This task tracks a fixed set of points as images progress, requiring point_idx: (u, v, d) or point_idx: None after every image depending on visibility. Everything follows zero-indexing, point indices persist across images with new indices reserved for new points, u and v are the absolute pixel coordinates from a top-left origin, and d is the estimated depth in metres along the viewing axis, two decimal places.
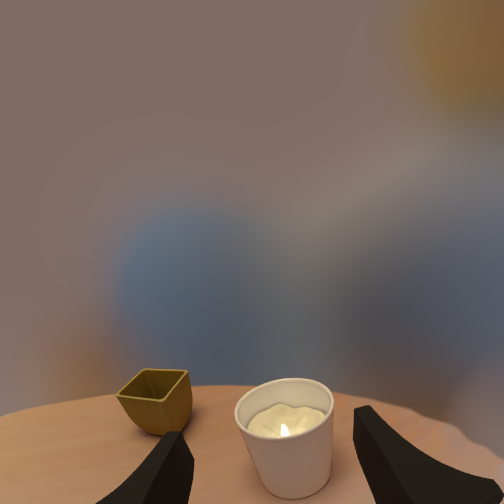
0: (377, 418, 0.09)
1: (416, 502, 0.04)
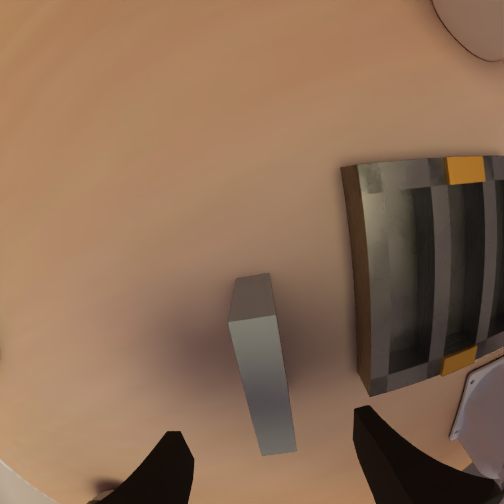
0: (377, 418, 0.09)
1: (416, 502, 0.04)
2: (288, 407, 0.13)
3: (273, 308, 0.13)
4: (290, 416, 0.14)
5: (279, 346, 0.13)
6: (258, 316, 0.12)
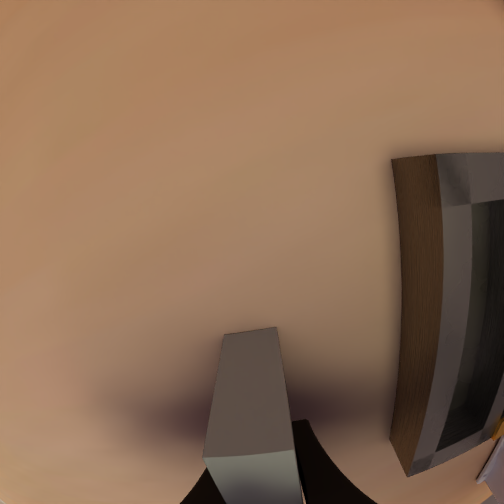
0: (309, 434, 0.09)
1: None
2: None
3: (288, 428, 0.06)
4: None
5: (296, 483, 0.06)
6: (260, 449, 0.06)
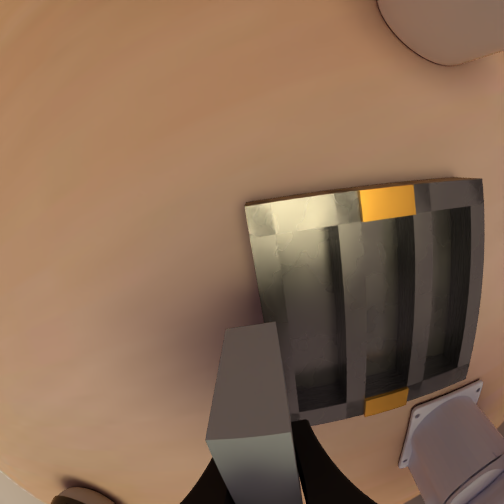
0: (309, 434, 0.09)
1: None
2: None
3: (285, 413, 0.07)
4: None
5: (294, 467, 0.06)
6: (259, 432, 0.06)
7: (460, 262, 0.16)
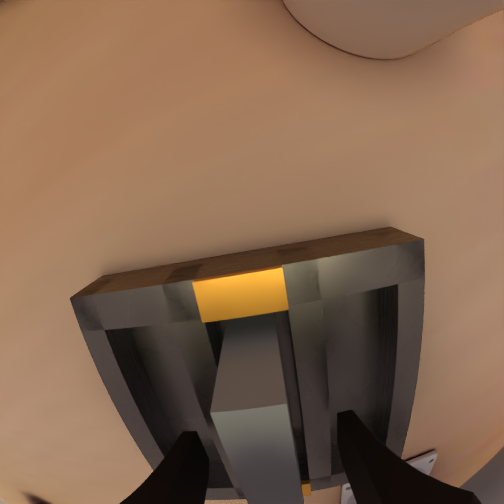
0: (359, 423, 0.09)
1: None
2: (299, 496, 0.08)
3: (282, 387, 0.08)
4: None
5: (290, 440, 0.07)
6: (258, 404, 0.07)
7: (386, 351, 0.12)
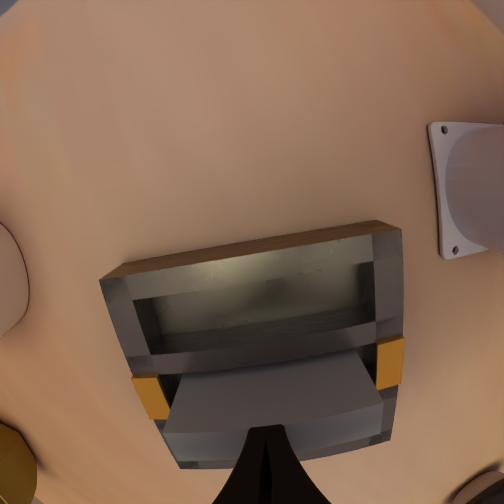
0: (282, 438, 0.09)
1: None
2: (290, 425, 0.10)
3: (166, 423, 0.11)
4: (308, 421, 0.10)
5: (197, 433, 0.10)
6: (168, 441, 0.11)
7: None
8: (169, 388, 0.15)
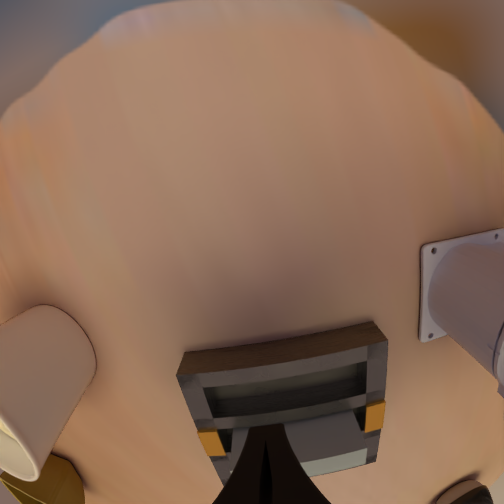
0: (282, 438, 0.09)
1: None
2: (310, 461, 0.16)
3: (230, 463, 0.17)
4: (321, 459, 0.16)
5: None
6: None
7: None
8: (222, 435, 0.20)
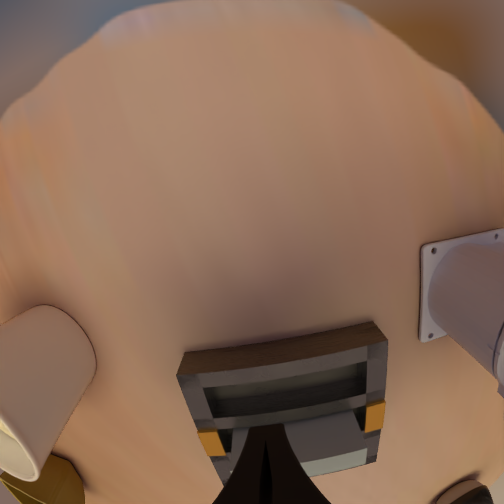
0: (282, 438, 0.09)
1: None
2: (310, 461, 0.16)
3: (230, 463, 0.17)
4: (321, 459, 0.16)
5: None
6: None
7: None
8: (222, 435, 0.20)
